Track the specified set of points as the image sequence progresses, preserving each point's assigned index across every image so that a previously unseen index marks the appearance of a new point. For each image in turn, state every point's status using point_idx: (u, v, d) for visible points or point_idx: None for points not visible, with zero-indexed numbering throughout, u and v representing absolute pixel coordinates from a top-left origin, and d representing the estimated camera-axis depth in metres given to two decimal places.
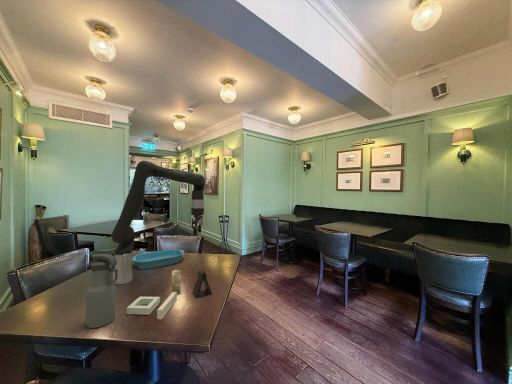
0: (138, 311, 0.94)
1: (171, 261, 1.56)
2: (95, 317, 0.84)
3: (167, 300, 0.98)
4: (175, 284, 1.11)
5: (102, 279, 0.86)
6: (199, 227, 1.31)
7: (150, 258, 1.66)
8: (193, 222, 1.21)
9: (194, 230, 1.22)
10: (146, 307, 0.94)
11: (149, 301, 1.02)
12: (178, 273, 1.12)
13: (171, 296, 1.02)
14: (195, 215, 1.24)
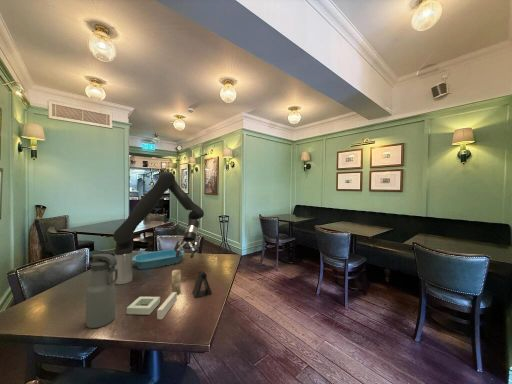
0: (138, 311, 0.94)
1: (171, 261, 1.56)
2: (95, 317, 0.84)
3: (167, 300, 0.98)
4: (175, 284, 1.11)
5: (102, 279, 0.86)
6: (179, 252, 1.27)
7: (150, 258, 1.66)
8: (198, 245, 1.30)
9: (193, 252, 1.27)
10: (146, 307, 0.94)
11: (149, 301, 1.02)
12: (178, 273, 1.12)
13: (171, 296, 1.02)
14: (194, 240, 1.33)
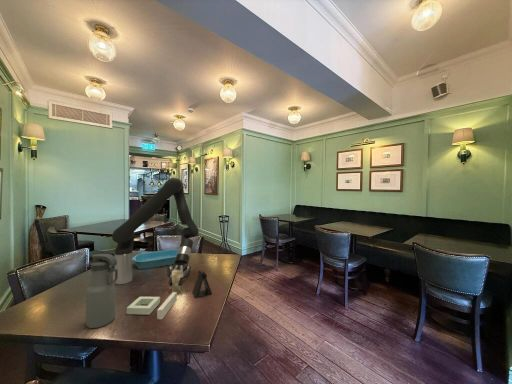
0: (138, 311, 0.94)
1: (170, 261, 1.55)
2: (95, 317, 0.84)
3: (167, 300, 0.98)
4: (175, 284, 1.11)
5: (102, 279, 0.86)
6: None
7: (151, 258, 1.67)
8: (189, 271, 1.17)
9: (182, 279, 1.13)
10: (146, 307, 0.94)
11: (149, 301, 1.02)
12: (178, 273, 1.12)
13: (171, 296, 1.02)
14: (187, 263, 1.20)
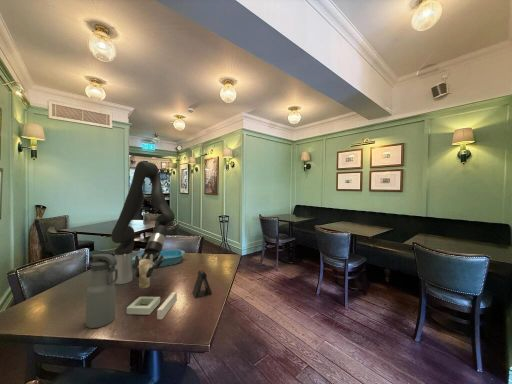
0: (138, 311, 0.94)
1: (170, 262, 1.55)
2: (95, 317, 0.84)
3: (167, 300, 0.98)
4: (143, 275, 0.97)
5: (102, 279, 0.86)
6: None
7: None
8: (160, 261, 1.02)
9: (151, 270, 0.99)
10: (146, 307, 0.94)
11: (149, 301, 1.02)
12: (146, 262, 0.97)
13: (171, 296, 1.02)
14: (159, 252, 1.05)
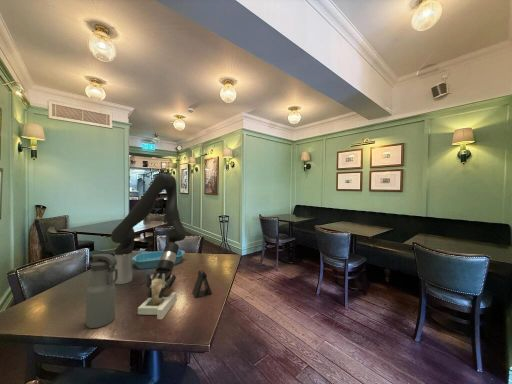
0: (149, 311, 0.93)
1: None
2: (95, 317, 0.84)
3: (167, 300, 0.98)
4: (155, 295, 0.96)
5: (102, 279, 0.86)
6: None
7: (152, 258, 1.67)
8: (172, 281, 1.02)
9: (164, 290, 0.98)
10: (157, 307, 0.94)
11: None
12: (159, 283, 0.97)
13: (171, 296, 1.02)
14: (171, 271, 1.05)
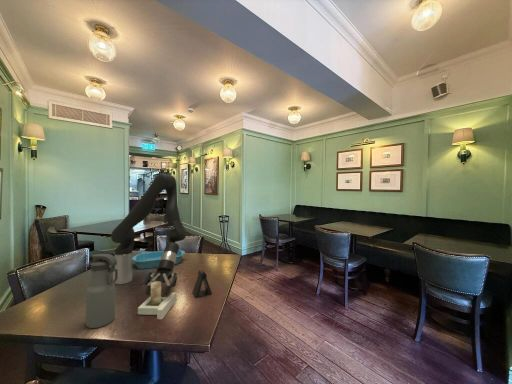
0: (149, 311, 0.93)
1: None
2: (95, 317, 0.84)
3: (167, 300, 0.98)
4: (154, 298, 0.96)
5: (102, 279, 0.86)
6: (150, 288, 1.00)
7: (152, 258, 1.67)
8: (176, 278, 1.02)
9: (169, 288, 0.99)
10: (157, 307, 0.94)
11: None
12: (158, 286, 0.97)
13: (171, 296, 1.02)
14: (171, 271, 1.05)
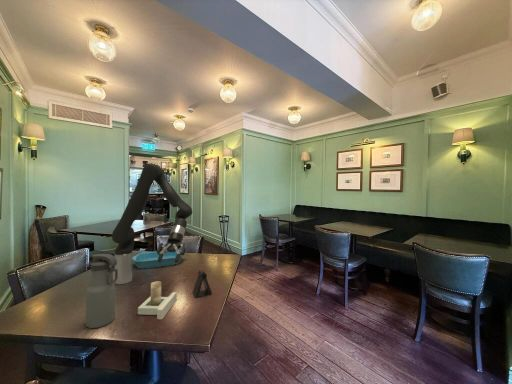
0: (149, 311, 0.93)
1: (168, 262, 1.54)
2: (95, 317, 0.84)
3: (167, 300, 0.98)
4: (154, 298, 0.96)
5: (102, 279, 0.86)
6: (162, 256, 1.11)
7: (153, 257, 1.68)
8: (184, 248, 1.14)
9: (178, 256, 1.11)
10: (157, 307, 0.94)
11: None
12: (158, 285, 0.97)
13: (171, 296, 1.02)
14: (180, 242, 1.17)
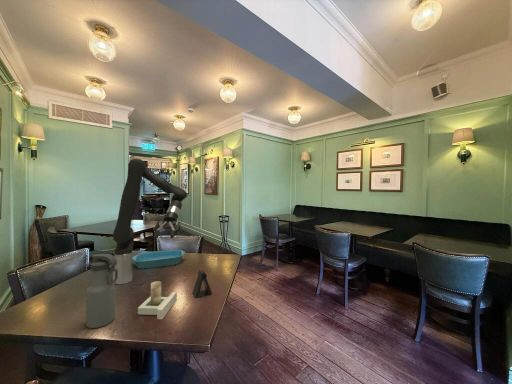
0: (149, 311, 0.93)
1: (168, 262, 1.54)
2: (95, 317, 0.84)
3: (167, 300, 0.98)
4: (154, 298, 0.96)
5: (102, 279, 0.86)
6: (159, 232, 1.23)
7: (153, 257, 1.68)
8: (179, 225, 1.26)
9: (174, 232, 1.22)
10: (157, 307, 0.94)
11: None
12: (158, 286, 0.97)
13: (171, 296, 1.02)
14: (176, 220, 1.28)
